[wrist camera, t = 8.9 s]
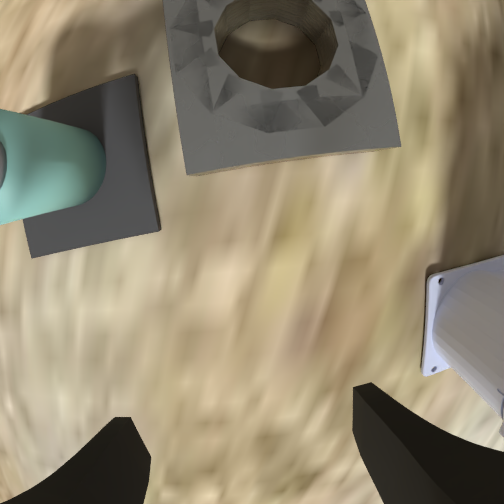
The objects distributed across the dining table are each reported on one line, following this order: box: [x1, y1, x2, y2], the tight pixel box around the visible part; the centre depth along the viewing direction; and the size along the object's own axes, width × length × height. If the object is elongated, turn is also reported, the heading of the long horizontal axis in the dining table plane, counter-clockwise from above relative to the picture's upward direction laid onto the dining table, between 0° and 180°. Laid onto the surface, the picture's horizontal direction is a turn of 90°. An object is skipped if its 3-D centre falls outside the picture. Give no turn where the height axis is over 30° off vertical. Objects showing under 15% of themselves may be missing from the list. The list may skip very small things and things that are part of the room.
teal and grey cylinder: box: [0, 109, 106, 225], centre depth 12 cm, size 4×4×8 cm
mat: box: [23, 74, 161, 258], centre depth 16 cm, size 9×9×1 cm
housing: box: [163, 0, 401, 176], centre depth 14 cm, size 10×12×4 cm
